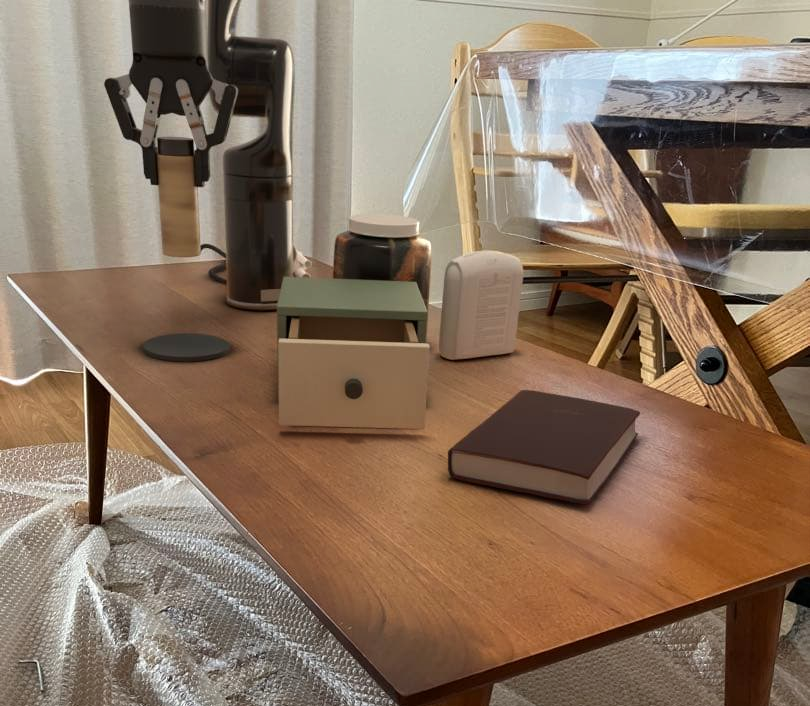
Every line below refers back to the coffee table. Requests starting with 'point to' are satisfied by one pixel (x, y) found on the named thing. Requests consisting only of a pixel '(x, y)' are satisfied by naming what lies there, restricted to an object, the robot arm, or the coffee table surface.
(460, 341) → the cream rounded block
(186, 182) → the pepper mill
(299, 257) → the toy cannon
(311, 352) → the drawer
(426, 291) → the jar
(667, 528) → the coffee table surface
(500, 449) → the book
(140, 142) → the robot arm
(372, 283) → the cabinet
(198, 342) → the coaster
